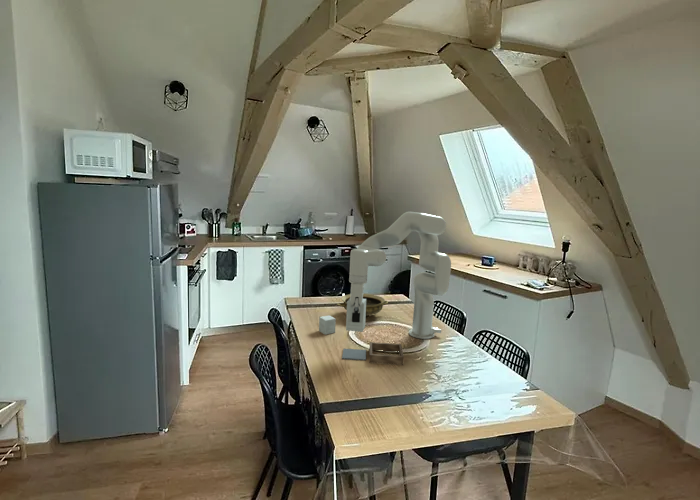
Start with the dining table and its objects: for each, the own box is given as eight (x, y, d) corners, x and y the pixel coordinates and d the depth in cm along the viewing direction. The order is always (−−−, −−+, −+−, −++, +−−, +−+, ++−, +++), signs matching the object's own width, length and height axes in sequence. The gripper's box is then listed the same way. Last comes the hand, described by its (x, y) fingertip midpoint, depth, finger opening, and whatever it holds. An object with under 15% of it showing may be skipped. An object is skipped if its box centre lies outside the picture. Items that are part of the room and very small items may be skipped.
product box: (329, 329, 211) (329, 315, 210) (335, 332, 206) (336, 318, 205) (318, 330, 208) (319, 316, 207) (324, 334, 203) (325, 320, 202)
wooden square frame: (400, 351, 187) (401, 344, 186) (403, 365, 173) (403, 357, 173) (369, 349, 188) (369, 342, 187) (369, 362, 174) (369, 354, 173)
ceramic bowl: (380, 308, 250) (381, 292, 248) (395, 321, 227) (396, 303, 225) (331, 310, 241) (331, 293, 239) (342, 324, 218) (342, 306, 217)
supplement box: (365, 326, 182) (367, 298, 180) (362, 332, 175) (364, 303, 173) (348, 324, 183) (350, 296, 181) (345, 330, 176) (346, 301, 174)
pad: (366, 351, 186) (366, 349, 186) (365, 360, 176) (365, 359, 176) (343, 349, 186) (343, 348, 186) (342, 359, 176) (342, 357, 176)
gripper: (350, 273, 184) (348, 312, 187) (348, 282, 167) (346, 325, 170) (367, 274, 184) (365, 313, 187) (367, 284, 167) (364, 326, 169)
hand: (356, 318), depth 178 cm, fingers closed on supplement box, 7 cm apart
